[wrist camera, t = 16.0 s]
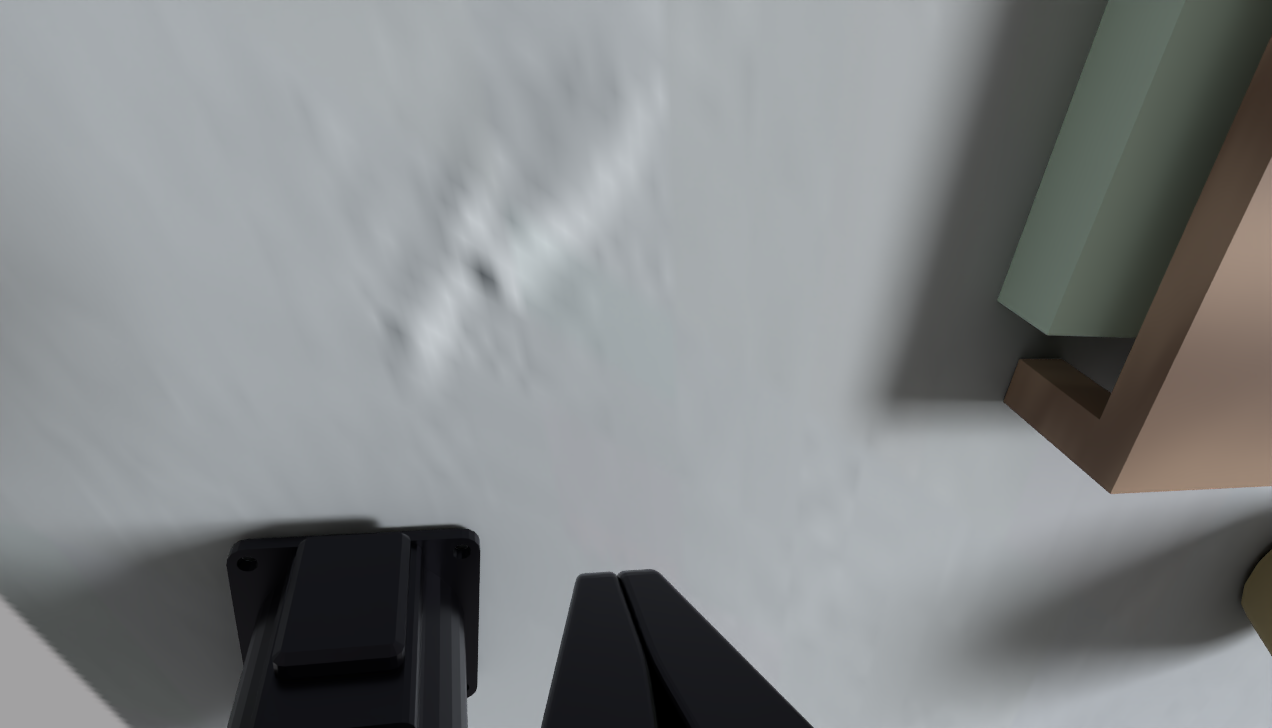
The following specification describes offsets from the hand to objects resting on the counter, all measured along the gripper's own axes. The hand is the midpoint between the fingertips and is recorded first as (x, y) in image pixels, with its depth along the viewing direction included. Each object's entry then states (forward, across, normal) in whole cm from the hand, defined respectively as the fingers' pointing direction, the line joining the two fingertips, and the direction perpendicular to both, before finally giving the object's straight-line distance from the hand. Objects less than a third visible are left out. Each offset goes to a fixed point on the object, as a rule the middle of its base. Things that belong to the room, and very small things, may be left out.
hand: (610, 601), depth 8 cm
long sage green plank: (+12, -16, -4) cm, 21 cm away
